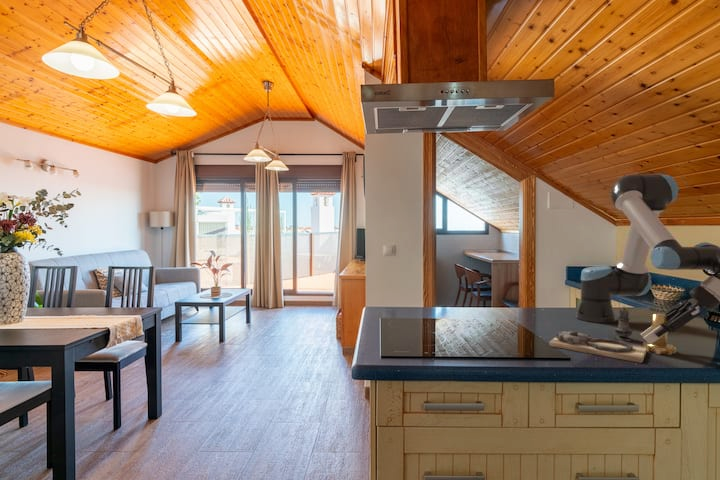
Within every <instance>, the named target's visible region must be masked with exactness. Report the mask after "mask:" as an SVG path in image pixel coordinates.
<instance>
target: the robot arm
mask: <svg viewBox="0 0 720 480" xmlns="http://www.w3.org/2000/svg"><path fill="white" fill-rule="evenodd" d="M678 194H679V186H678V183H677V181H676V179H675V178H674V177H673V176H671V175H669V174H661V173H660V174H659V173H651V174H649V173H648V174H645V173H644V174H643V173H641V174H626V175H624V176H621V177H620V178H618V179H617V180H615V182H614V183H613V184H612V187H611V189H610V200H611V202H612V204H613V205H614V207H615V208H616V209H617V210H618V211H622V213H623V214H624V215H625V216H626V217H627V219H628V220H629V222H630V226H629V229H628V233H627V238H626V242H625V245H624V249H623V254H622V256H621V260H620V261H619V262H617V263H616V264H615V268H614V269H613V268H612V267H611V266H606V265H602V266H601V265H600V266H599V265H597V266H589V267H585V268H583V269H582V270H581V273H580V274H581V275H580V301H579V305H578V307H577V310H576V313H575V318H576V319H578V320H581V321H585V322H590V323H597V324H599V323H601V324H607V323H608V324H611V323H615V322H616V321H617V317H616V314H615V310H614V307H613V303H612V296H613V297H637V296H638V297H639V296H643V295H646V294H647V293H648V292H649V290H650V289H651V287H652V276H651V274H650V272H649V269H648V268H647V267H646V262H647V260H648V256H649V259H650V260H651V262H650V263H651V265H652V266H653V267H654V268H656V269H658V270H667V271H674V270H681V271H683V270H688V271H689V270H693V271H695V270H697V271H701V270H703V271H705V270H706V271H710V272H712V273H713V274H711V275H710V276H708V277H707V278H706V279H704V280H703V281H701V282H700V285H697V286H695V287H693V288H692V289H690V290H689V292H688V295H690V298H689V299H685V300H680V301H679V302H678V303H677V304H676V305H674V306H673V307H672V308H670V309H669V310H667V311H666V312H665V313H664V314H665V315H668V318H667V322H666V323H665V324H662V323H661V324H660V326H659V327H657V328H656V329H654V330H653V331H652V325H650V327H648V328H647V329H645V330H644V331H642V332H641V333H640V336H642V338H643V339H644V340H645V341H646V343H647V342H648V343H649V344H650V345H651V344H652V343H654V342H655V341H656V340H658V339H659V338H661V337H662V336H664V335H665V334H666V333H667V334H668V333H674V332H676V331H677V330H679V329H680V328H682V327H683V326H685V325H686V324H688V323H689V322H691V321H692V320H694V319H695V318H697V317H699V316H701V315H702V312H701V310H702V309H707V310H708V311H712V310H713V309H715V308H717V307H718V306H720V246H718V245H716V244H713V243H711V242H707V241H706V242H705V241H704V242H699V243H698V244H695V245H694V246H682V245H681V244H680V243H679V242H678V241H677V240H676V238H675V237H674V236H673V235H672V233H671V232H670V231H669V230H668V228H667V227H666V226H665V224H663V222H662V221H661V220H660V218H659V217H660V213H662V212H664V211H665V210H666V208H667V205H668V204H672V203H674V202H675V201H676V200H677V198H678V196H679V195H678ZM650 249H651V252H650ZM649 253H650V255H649Z"/></svg>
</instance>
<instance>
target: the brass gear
mask: <svg viewBox="0 0 720 480" xmlns="http://www.w3.org/2000/svg"><path fill="white" fill-rule="evenodd" d="M651 314H652V315H651V317H652V318H651V326H652V331H653V330H654V329H656V328H657V327H659V326H660V324H661V323H662V324H665V323H666V322H667V318H668V315H665V313H657V312H656V313H654V312H653V313H651ZM642 347H647V352H651V353H654V354H656V355H657V354H658V355H668V356H670V355H671V356H672V355H673V354H677V347H675V346H674V345H673V344H671V343H670V344H669V343H668V333H666V334H665V335H664V336H662V337H661V338H659V339H658V340H656V341H655V342H654V343H652V344H651V345H650V344H649V343H648V342H647V341H646V342H642Z"/></svg>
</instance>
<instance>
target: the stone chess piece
mask: <svg viewBox="0 0 720 480" xmlns="http://www.w3.org/2000/svg"><path fill="white" fill-rule="evenodd" d="M617 319H618V325H617V326H616V327H614V328H613V329H614V332H615V334H616V335H617V336H615V337H614V340H619V341H623V342H631V341H633V339H632V338H631V337H630V336H632V334H633V332H634V329H632V328H631V327H630V325H629V324H630V323H629V322H630V320H631V319H630V318H629V310H628V309H626V307H625V306H623V307H622V308H620V309H619V310H618V317H617Z"/></svg>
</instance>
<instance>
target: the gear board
mask: <svg viewBox="0 0 720 480" xmlns="http://www.w3.org/2000/svg"><path fill="white" fill-rule="evenodd" d="M548 343H549V345H548V346H549V347H552V348H558V349H564V350H569V351H574V352H579V353H585V354H590V355H597V356H601V357H605V358H607V357H608V358H613V359H619V360H625V361H628V362H629V361H630V362H635V363H640V364H641V363H642V364H643V361H644V359H645V357H646V354H647V352H648V351H647V347H643V345H642V346H641V345H635V344H630V343H628V342H626V341H622V340H618V339H612V338H611V339H610V338H606V337H599V338H598V337H597V338H595V337H593V338H592V337H591V336H590V334H588V333H582V332H580V331H573V330H569V331H568V330H563V331H557V332H556V336H555V337H553V338H552V339H551V340H550V341H549V342H548Z"/></svg>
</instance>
